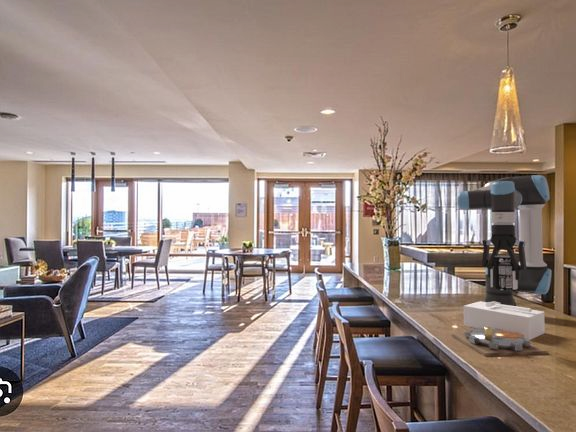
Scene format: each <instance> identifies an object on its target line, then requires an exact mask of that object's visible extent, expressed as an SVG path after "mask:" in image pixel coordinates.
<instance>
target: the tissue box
mask: <svg viewBox="0 0 576 432" xmlns="http://www.w3.org/2000/svg"><path fill="white" fill-rule="evenodd" d="M462 308H463V326H464V327H468V328H472V329H474V328H483V329H485V327H491V328H492V329H495V328H498V329H504V331H509V332H514V333H520V334H523V335H524V338H525V339H530V341H531V340H533V339H535V338H537V337H539V336H541V335H544V334H545V331H546V330H545V324H546V323H545V311H542V310H537V309H532V308H529V307H523V306H517V305H516V306H510V305H502V304H500V303H499V302H495V301H493V302H483V301H476V302H473V303H469V304H465V305H463V307H462Z"/></svg>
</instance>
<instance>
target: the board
mask: <svg viewBox="0 0 576 432" xmlns="http://www.w3.org/2000/svg"><path fill="white" fill-rule="evenodd" d="M451 337H452V338H453V339H455V340H457V341H458V342H460V343H462V344H464V345H465V346H466V347H469V348H470V349H472V350H473V351H475V352H477V353H478V354H480V355H482V356H483V357H500V356H501V357H502V356H525V355H526V356H528V355H531V356H533V355H549V350H547V349H544V348H543V347H540V346H538V345H536V344H534V343H532V342H530V347H525V346H524V347H522V350H518V351H515V350H512V349H500V348H499V349H498V350H497V349H491V348H489V347H488V346H484V345H480V344H473V343H471V342H469V338H466V337H465V333H452V334H451Z"/></svg>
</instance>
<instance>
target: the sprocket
mask: <svg viewBox="0 0 576 432" xmlns="http://www.w3.org/2000/svg"><path fill="white" fill-rule="evenodd" d="M464 334H465V337H466V338H469V342H471V343H473V344H480V345H484V346H488V347H489V348H491V349H497V350H498V349H499V348H500V349H512V350H515V351H518V350H522V347H524V346H525V347H530V343H531V340H530V339H525V338H524V335H523V334H520V333H514V332H509V331H504V329H498V328H495V329H492V328H491V327H485V329H483V328H473V329H472V330H469V329H466V331H465V333H464Z"/></svg>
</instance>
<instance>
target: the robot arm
mask: <svg viewBox="0 0 576 432" xmlns="http://www.w3.org/2000/svg"><path fill="white" fill-rule="evenodd" d="M549 188H550V187H549V184H548V180H547V178H546V177H545V176H544V175H541V174H538V175H537V174H536V175H535V174H534V175H522V176H509V177H508V176H506V177H502V178H498V179H495V180H492V181H490V182H487V183H486V184H485V185H484V186H481V187H480V188H477V189H473V190H464V191H460V192H458V194H457V197H456V200H457V207H458V208H459V209H460V210H468V211H469V210H490V213H491V214H490V215H491V219H490V220H491V224H492V225H491V228H490V229H491V230H490V231H491V236H490V238H489V239H483V240H482V246H483V253H482V262H481V267H485V275H484V276H485V295H484V299H483V301H482V302H493V301H495V302H499V303H500V304H502V305H510V306H517V303H516V301H515V298H514V292H518V293H525V294H526V293H527V294H534V295H546V294H547V293H548V292H549V290H550V287H551V283H552V272H553V271H552V269H551V268H548V264H547V263H546V262H545V261H544V251H543V250H544V249H543V248H544V246H543V245H544V244H543V213H542V210H543V208H544V207H545V206H546V202H548V201H550V198H551V197H550V189H549ZM516 208H518V210H519V232H520V233H519V234H520V235H519V238H520V240H518V239H517V238H516V226H515V224H516V211H515V210H516ZM491 244H492V245H493V248H492V253H491V255H490V245H491ZM515 245H516V246H517V249H518V258H517V256H516V253H515V250H514V246H515ZM501 250H504V251H506V252H507V253H508V256H510V259H511V260H512V264H513V266H514V271H512V274H513V290H498V289H495V287H494V277H493V259H494V258H495V256H497V255H499V252H500V251H501ZM489 256H490V257H489ZM518 259H519V260H518Z"/></svg>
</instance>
